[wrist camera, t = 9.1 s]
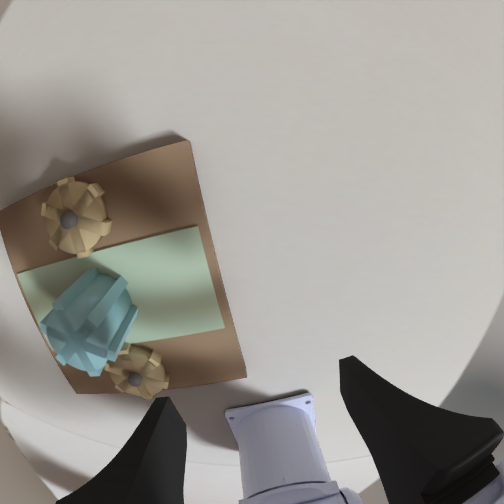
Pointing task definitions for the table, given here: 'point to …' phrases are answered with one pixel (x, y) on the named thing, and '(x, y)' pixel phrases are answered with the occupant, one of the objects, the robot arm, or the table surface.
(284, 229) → the table surface
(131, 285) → the gear board
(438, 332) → the table surface
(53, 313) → the teal gear
